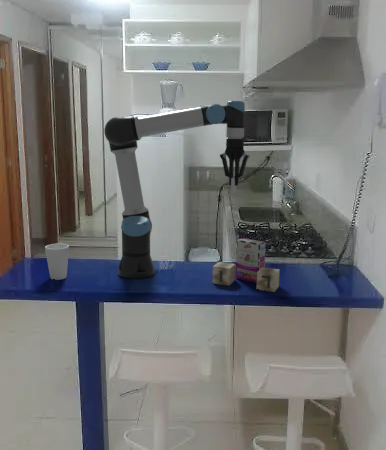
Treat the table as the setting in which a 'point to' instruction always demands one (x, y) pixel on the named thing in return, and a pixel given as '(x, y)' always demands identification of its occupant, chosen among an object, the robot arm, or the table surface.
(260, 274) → the light wood cube
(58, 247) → the foam cup
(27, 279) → the table surface
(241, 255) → the candy bar box
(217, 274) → the wooden character cube
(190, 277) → the table surface
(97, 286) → the table surface
